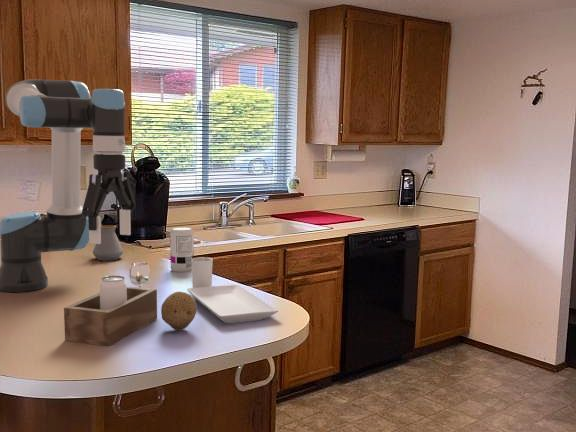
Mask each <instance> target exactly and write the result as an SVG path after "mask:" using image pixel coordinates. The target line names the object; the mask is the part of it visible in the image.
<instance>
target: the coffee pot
mask: <svg viewBox="0 0 576 432" xmlns="http://www.w3.org/2000/svg"><path fill="white" fill-rule="evenodd" d="M116 228H117V225H115V224H114V225H113V224H102V223H101V244H94V247H93V250H92V255H93V256H94V257H95V258H97V260H98V261H105V262H106V261H107V262H110V261H115V260H119V259H120V257H121V256H122V255H123V253H124V249H123V247H122V245H121V242H120V240H119V238H118V236H117V234H116Z"/></svg>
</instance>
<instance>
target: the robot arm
mask: <svg viewBox="0 0 576 432" xmlns="http://www.w3.org/2000/svg"><path fill="white" fill-rule="evenodd" d="M4 100H5V104H6V107H7V108H8V110H9V111H11V113H13V114H14V115H16V116H18V117H19V120H20V124H21V126H23V127H26V128H27V127H28V128H34V129H35V128H36V129H38V128H50V130H51V205H50V206H49V207H47V209H46V215H41V214H40V212H39V211H35V210H34V211H23V212H17V213H12V214H9V215H5V216H3V217H2V218H1V219H0V259H1V260H0V262H1V264H0V292H5V293H24V292H32V291H37V290H40V289H45V288H46V287H48V285H49V278H48V276H47V273H46V271H45V267H44V265H43V263H42V253H51V252H53V253H54V252H62V251H63V252H64V251H67V252H68V251H70V252H71V251H76V250H83V249H85V248H86V247H87V245H88V244H92V245H93V244H94V245H96V244H101V224H102V222H101V221H102V220H101V216H99V214H100V212H101V209H102V208H103V205H104V203H105V200H106V197H107V196H108V195H109V194H110V193H111V192H112V193H113V194H114V196H115V197H116V200H117V201H118V204H119V206H120V207H121V209H119V235H121V236H131V234H132V232H131V231H132V229H131V228H132V227H131V226H132V225H131V224H132V222H131V210H135V208H136V199H135V196H134V192H133V189H132V186H131V182H130V177H129V176H130V175H129V172H128V171H123V170H125V169H126V155H125V154H123V153H125V151H126V137H125V136H126V131H125V130H126V125H125V124H126V121H125V119H126V118H125V117H126V116H125V114H126V111H125V107H126V102H125V94H124V91H123V90H121V89H117V88H95V89H93V90H92V93H90V91H89V89H88V86H87V84H85V83H83V82H82V81H77V80H65V79H64V80H59V79H58V80H57V79H40V78H37V79H36V78H32V79H31V78H30V79H24V80H21V81H19V82H18V81H17V82H16V83H14V84H12V85H11V86H9V88H8V89H7V91H6V93H5V99H4ZM84 129H92V151H93V152H94V155H93V156H92V157H93V168H94V169H95V170H97V174H89V177H88V179H89V180H88V186H87V191H86V195H85V198H84V202H83V206H82V205H81V161H82V160H81V153H82V152H81V151H82V150H81V149H82V148H81V147H82V146H81V145H82V144H81V141H82V140H81V138H82V137H81V134H82V133H81V132H82V130H84Z"/></svg>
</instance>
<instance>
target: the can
mask: <svg viewBox="0 0 576 432" xmlns="http://www.w3.org/2000/svg"><path fill="white" fill-rule="evenodd" d="M126 286H127V282H126V280H125V276H122V275H106V276H103V277H101V281H100V282H99V293H100V310H108V309H110V308H113V307H115V306H117V305H119V304H121V303H123V302H125V301H127V287H128V286H127V287H126Z"/></svg>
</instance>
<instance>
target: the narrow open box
mask: <svg viewBox="0 0 576 432" xmlns="http://www.w3.org/2000/svg"><path fill="white" fill-rule="evenodd" d="M126 287H127V301H125V302H123V303H121V304H119V305H117V306H115V307H113V308H110V309H108V310H100V292H98V293H96V294H93V295H91V296H89V297H86V298H84V299H82V300H79V301H76V302H74V303H72V304H70V305H67V306H65V307H63V311H64V312H63V315H64V316H63V320H64V321H63V323H64V341H67V342H74V343H81V344H90V345H99V346H106V347H111V346H113V345H115V344H116V343H118V342H119V341H121V340H122V339H125V338H126V337H128V336H129V335H131V334H133V333H136V332H137V331H138V330H140V329H142V328H143V327H146V326H147V325H149V324H150V323H152V322H154V321H155V320H157V319H158V291H157V289H156V288H146V287H141V288H138V287H137V286H127V285H126Z"/></svg>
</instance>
